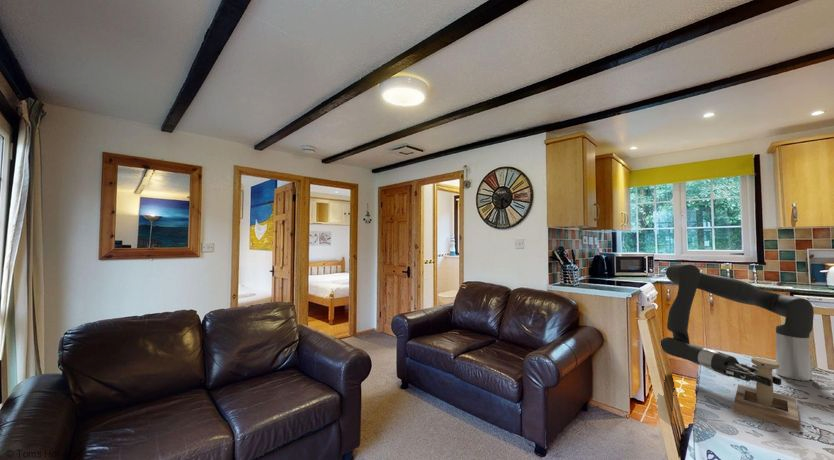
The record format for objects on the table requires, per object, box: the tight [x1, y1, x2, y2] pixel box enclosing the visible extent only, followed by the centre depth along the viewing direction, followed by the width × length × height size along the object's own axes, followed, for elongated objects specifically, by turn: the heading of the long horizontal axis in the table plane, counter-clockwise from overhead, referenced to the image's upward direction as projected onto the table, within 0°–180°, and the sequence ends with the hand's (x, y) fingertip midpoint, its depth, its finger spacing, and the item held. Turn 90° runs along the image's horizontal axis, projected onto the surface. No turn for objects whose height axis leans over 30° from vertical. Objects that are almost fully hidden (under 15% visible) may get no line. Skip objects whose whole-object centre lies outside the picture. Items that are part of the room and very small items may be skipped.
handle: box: [750, 356, 779, 407], centre depth 110 cm, size 5×6×15 cm
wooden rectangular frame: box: [733, 383, 800, 431], centre depth 109 cm, size 20×14×3 cm
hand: (775, 382), depth 107 cm, fingers closed on handle, 3 cm apart
